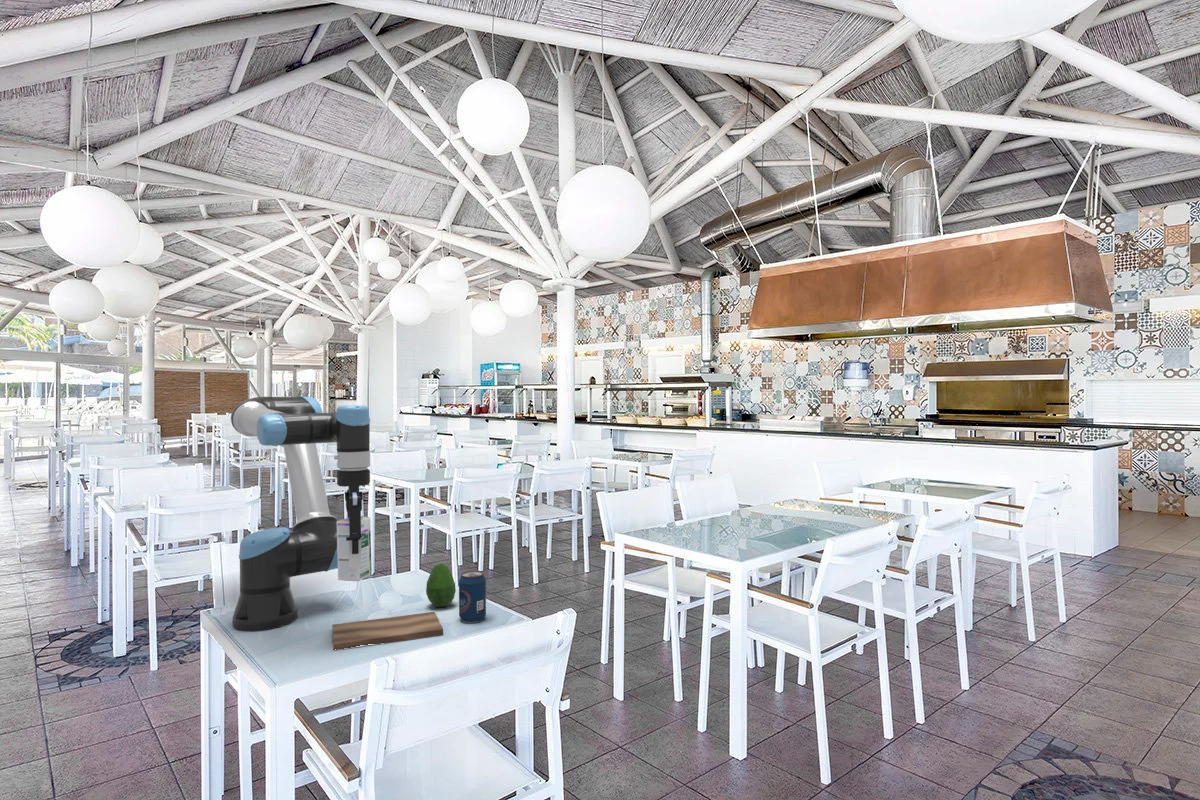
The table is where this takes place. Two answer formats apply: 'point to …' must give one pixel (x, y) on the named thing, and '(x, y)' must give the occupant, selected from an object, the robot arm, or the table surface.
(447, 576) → the avocado
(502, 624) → the table surface
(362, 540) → the syrup box
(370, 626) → the walnut board
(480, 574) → the soda can
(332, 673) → the table surface
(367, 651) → the table surface
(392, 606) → the table surface
